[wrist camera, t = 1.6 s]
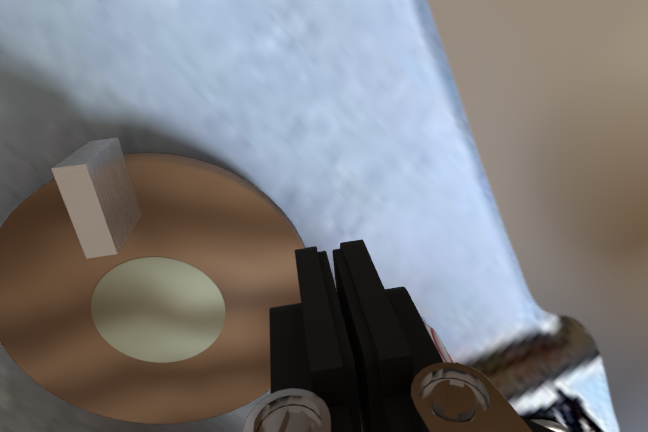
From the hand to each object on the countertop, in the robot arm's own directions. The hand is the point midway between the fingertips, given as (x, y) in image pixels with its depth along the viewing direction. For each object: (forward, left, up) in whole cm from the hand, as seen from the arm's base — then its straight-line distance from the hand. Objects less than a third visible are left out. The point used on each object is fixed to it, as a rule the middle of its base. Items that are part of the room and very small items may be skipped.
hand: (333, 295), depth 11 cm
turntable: (-11, +11, -19) cm, 25 cm away
